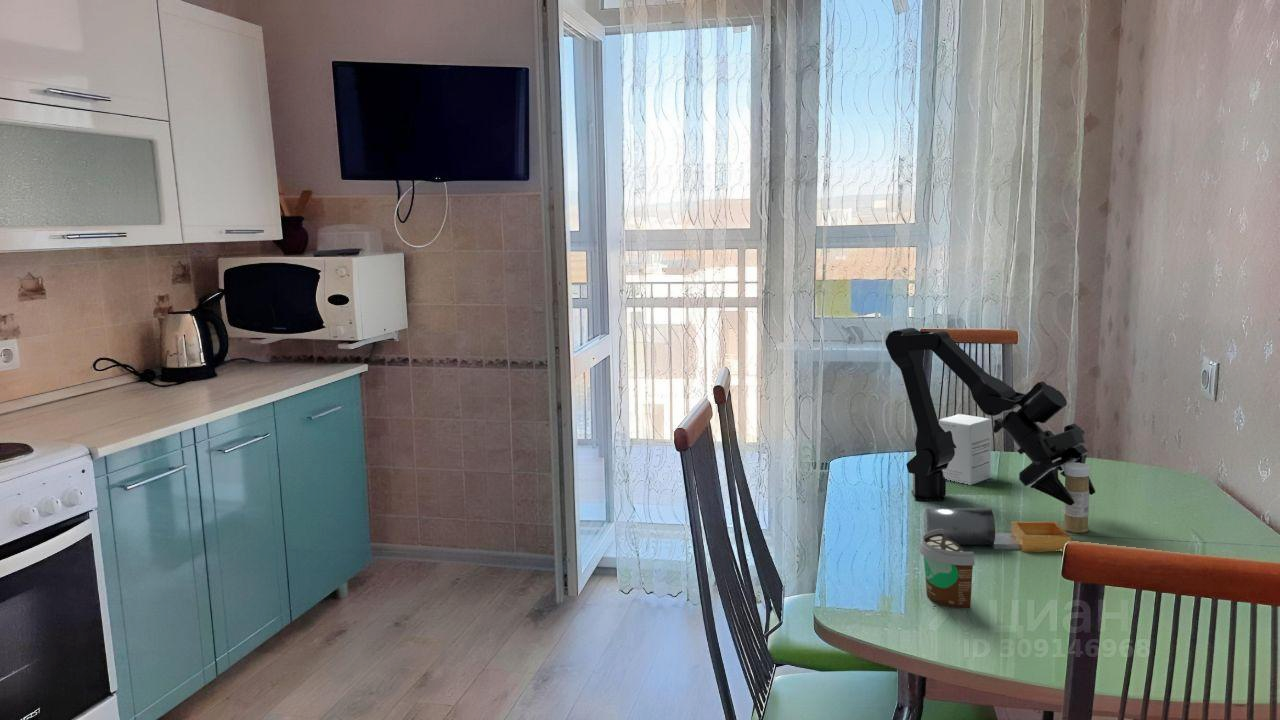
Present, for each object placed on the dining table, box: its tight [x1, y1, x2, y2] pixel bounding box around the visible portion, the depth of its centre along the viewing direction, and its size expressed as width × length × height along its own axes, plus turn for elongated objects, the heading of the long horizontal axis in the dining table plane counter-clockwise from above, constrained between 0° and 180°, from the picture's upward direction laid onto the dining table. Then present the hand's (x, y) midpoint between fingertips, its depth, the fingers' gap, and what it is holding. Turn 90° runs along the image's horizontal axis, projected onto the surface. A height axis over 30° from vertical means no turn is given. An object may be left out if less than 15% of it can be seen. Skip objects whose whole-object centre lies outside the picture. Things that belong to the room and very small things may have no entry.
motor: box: [923, 507, 1072, 553], centre depth 168 cm, size 25×9×7 cm, turn 81°
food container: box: [918, 529, 975, 610], centre depth 145 cm, size 12×6×10 cm, turn 5°
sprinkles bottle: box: [1063, 463, 1091, 534], centre depth 173 cm, size 5×5×13 cm
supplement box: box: [938, 413, 992, 486], centre depth 211 cm, size 9×9×15 cm
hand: (1083, 498), depth 172 cm, fingers open, 9 cm apart
